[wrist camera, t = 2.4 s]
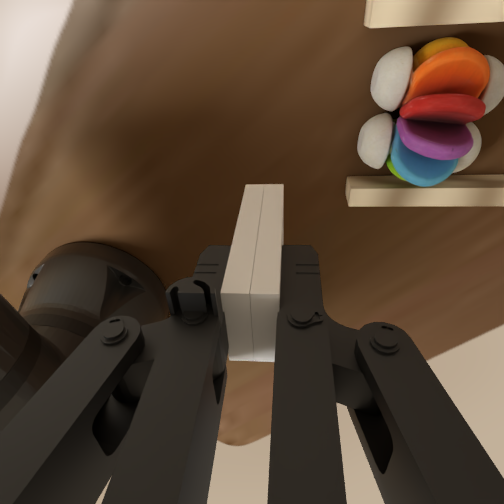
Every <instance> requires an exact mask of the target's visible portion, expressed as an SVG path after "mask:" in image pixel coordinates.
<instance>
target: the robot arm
mask: <svg viewBox="0 0 504 504" xmlns="http://www.w3.org/2000/svg"><path fill="white" fill-rule="evenodd" d="M283 201H284V184H265V186H264V184H246V186H245V190H244V194H243V199H242V203H241V207H240V212H239V216H238V220H237V224H236V229H235V233H234V237H233V241H232V246H223V245H209V246H208V247H207V248H206V249H205V250H204V251H203V252H202V253H201V254H200V257H199V259H198V262H197V266H196V268H195V271H194V274H193V277H187V278H184V279H181V280H178V281H176V282H175V283H173V284H172V285H170V286H169V288H168V289H167V290H165V288H164V286H163V284H162V283H161V281H160V280H159V279H158V277H157V276H156V275H155V274H154V273H153V272H152V271H151V270H150V269H149V268H148V267H147V266H146V265H145V264H143V263H142V262H141V261H139V260H138V259H136V258H135V257H133V256H131V255H129V254H127V253H125V252H123V251H121V250H119V249H116V248H113V247H110V246H107V245H102V244H97V243H87V242H79V243H71V244H66V245H63V246H60V247H58V248H56V249H54V250H53V251H51V252H50V253H49V254H48V255H47V256H46V257H45V258H44V259H43V260H42V261H41V262H40V263H39V264H38V265H37V267H36V268H35V269H34V271H33V272H32V274H31V276H30V278H29V281H28V285H27V289H26V291H25V294H24V296H23V299H22V302H21V304H20V307H19V310H18V311H17V310H16V309H15V308H14V307H13V306H12V305H11V304H10V303H9V302H8V301H7V300H6V299H5V298H4V297H3V296H2V295H1V294H0V504H95V503H96V501H97V500H98V498H99V496H100V494H101V493H102V491H103V489H104V488H105V486H106V484H107V482H108V481H109V479H110V478H111V480H110V482H109V485H108V488H107V491H106V493H105V496H104V499H103V501H102V504H207V498H208V491H209V486H210V480H211V474H212V467H213V461H214V455H215V449H216V443H217V436H218V430H219V424H220V418H221V411H222V405H223V399H224V393H225V387H226V380H227V368H226V360H227V355H228V354H229V360H238V361H254V360H255V361H262V362H275V363H274V383H273V403H272V423H271V443H270V444H271V445H270V464H269V466H270V467H269V484H268V504H347V502H346V492H345V482H344V474H343V463H342V454H341V445H340V435H339V425H338V416H337V407H336V402H337V403H340V404H343V405H345V406H347V409H348V411H349V414H350V416H351V419H352V422H353V424H354V426H355V429H356V432H357V434H358V437H359V439H360V442H361V444H362V447H363V450H364V452H365V454H366V457H367V459H368V462H369V465H370V467H371V470H372V472H373V475H374V478H375V480H376V483H377V485H378V487H379V490H380V493H381V495H382V498H383V500H384V503H385V504H504V478H503V477H502V475H501V474H500V472H499V471H498V469H497V468H496V466H495V465H494V463H493V462H492V460H491V459H490V457H489V456H488V454H487V453H486V451H485V449H484V448H483V447H482V445H481V443H480V442H479V440H478V439H477V437H476V436H475V434H474V433H473V431H472V430H471V429H470V427H469V425H468V424H467V422H466V421H465V419H464V418H463V416H462V415H461V413H460V412H459V410H458V409H457V407H456V406H455V404H454V403H453V401H452V400H451V398H450V397H449V395H448V394H447V392H446V390H445V389H444V388H443V386H442V384H441V383H440V382H439V380H438V379H437V377H436V375H435V374H434V372H433V371H432V369H431V368H430V366H429V365H428V363H427V362H426V360H425V359H424V357H423V356H422V354H421V353H420V351H419V350H418V348H417V347H416V345H415V344H414V342H413V341H412V339H411V338H410V337H409V336H408V335H407V333H406V332H405V331H404V330H402V329H400V328H398V327H397V326H395V325H392V324H388V323H385V322H373V323H370V324H367V325H364V326H363V327H362V328H361V329H360V330H356V329H352V328H349V327H346V326H343V325H340V324H338V323H337V322H335V321H333V320H332V319H331V318H330V317H329V316H328V315H327V313H326V312H325V310H324V307H323V300H322V290H321V280H320V270H319V261H318V254H317V253H316V251H315V250H314V249H313V247H312V246H311V245H283ZM169 310H170V314H171V316H170V317H169V318H167V317H168V314H169ZM111 476H112V477H111Z"/></svg>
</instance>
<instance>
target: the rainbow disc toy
mask: <svg viewBox="0 0 504 504" xmlns="http://www.w3.org/2000/svg"><path fill="white" fill-rule="evenodd" d="M371 94H372V97H373V99H374V101H375V102H376V103H377V104H378V105H379V106H380V107H381V108H383V109H385V110H388V111H394V110H396V109H397V108H398V107H400V106H402V107H401V108H400V111H399V113H400V117H399V118H398V119H394V120H393V119H392V117H391V115H390V114H389V113H383V114H379V115H376V116H374V117H372V118H371V119H369V120H368V121H367V122H366V123H365V124H364V125H363V126H362V128H361V130H360V133H359V137H358V145H357V150H358V154H359V156H360V158H361V159H362V160H363V162H364V163H366V164H367V165H368V166H370V167H373V168H376V169H379V168H381V167H382V166H383V164H384V163H385V162H386V164H387V166H388V168H389V170H390V171H391V172H392V173H393V174H394V175H395V176H396V177H398V178H399V179H401V180H405V181H408V182H409V183H411V184H414V185H417V186H422V187H428V186H433V185H436V184H438V183H440V182H442V181H444V180H445V179H447V178H448V177H449V176H450V175H451V174H452V173H455V172H458V171H461V170H463V169H465V168H466V167H468V166H469V165H470V164H471V163H472V162H473V161H474V160H475V159H476V157H477V156H478V154H479V152H480V149H481V135H480V132H479V130H478V128H477V127H476V126H475V125H474V124H473V123H472V121H475V120H478V119H480V118H481V117H482V116H483V115H485V114H487V113H489V112H490V111H491V110H493V109H494V108H495V107H496V106H497V105H498V104H499V102H500V101H501V100H502V98H503V96H504V65H503V64H502V63H501V62H500V61H499V60H498V59H496V58H495V57H492V56H490V55H482V54H481V53H480V52H478V51H477V50H475V49H473V48H470V47H469V46H468V45H467V44H466V43H465V42H464V41H462V40H461V39H458V38H453V37H444V38H440V39H436V40H434V41H432V42H430V43H428V44H426V45H425V46H424V47H422V48H421V49H420V50H419V51H418V52H417V53H416V54H415V55H414V56H413V54H412V49H411V48H410V47H407V46H405V47H399V48H396V49H394V50H391V51H390V52H388V53H387V54H385V55H384V56H383V57H382V58H381V59H380V60H379V61H378V63H377V65H376V67H375V69H374V72H373V76H372V80H371Z"/></svg>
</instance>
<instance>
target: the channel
mask: <svg viewBox="0 0 504 504" xmlns="http://www.w3.org/2000/svg"><path fill="white" fill-rule="evenodd" d="M486 22H504V0H366V8H365V17H364V26H366V27H369V28H385V27H405V26H425V25H445V24H465V23H486ZM345 195H346V198H347V202H348V206H349V207H390V206H504V174H499V175H450V176H449V177H448V178H447V179H445V180H444V181H442V182H440V183H438V184H436V185H433V186H428V187H422V186H417V185H414V184H411V183H409V182H408V181H405V180H401V179H399V178H398V177H396V176H347V180H346V189H345Z"/></svg>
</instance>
